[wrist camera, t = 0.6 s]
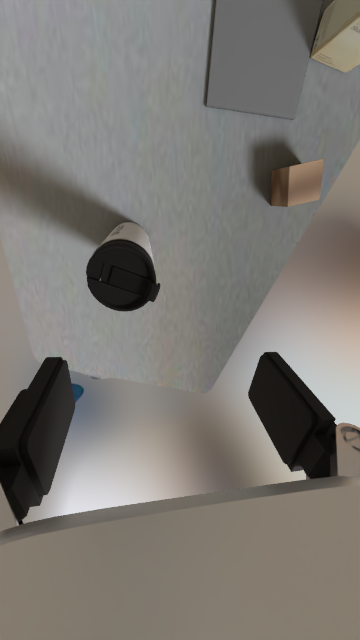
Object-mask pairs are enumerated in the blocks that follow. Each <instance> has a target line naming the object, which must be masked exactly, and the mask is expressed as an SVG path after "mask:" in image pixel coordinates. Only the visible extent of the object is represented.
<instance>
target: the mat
mask: <svg viewBox="0 0 360 640" xmlns="http://www.w3.org/2000/svg"><path fill="white" fill-rule="evenodd" d="M322 2H323V0H216V3H215V14H214V25H213V36H212V47H211V58H210V69H209V80H208V91H207V101H206V107H212V108H219V109H225V110H232V111H238V112H245V113H251V114H258V115H265V116H271V117H278V118H284V119H291V120H293V119H295V115H296V111H297V106H298V102H299V98H300V94H301V90H302V86H303V81H304V77H305V73H306V69H307V65H308V61H309V56H310V52H311V48H312V44H313V40H314V36H315V31H316V27H317V23H318V19H319V15H320V11H321V6H322Z"/></svg>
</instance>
